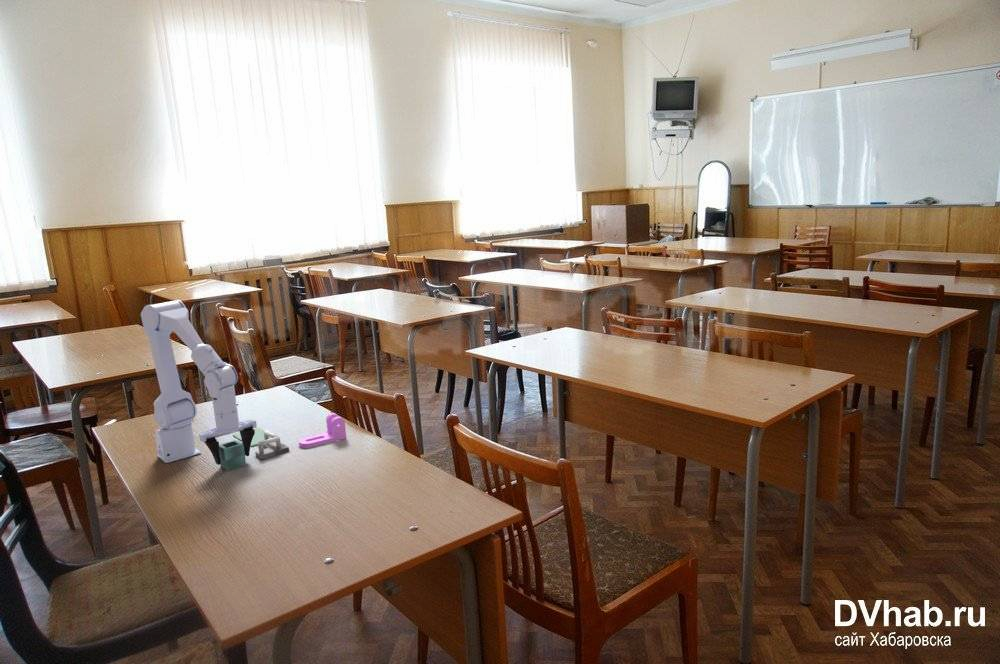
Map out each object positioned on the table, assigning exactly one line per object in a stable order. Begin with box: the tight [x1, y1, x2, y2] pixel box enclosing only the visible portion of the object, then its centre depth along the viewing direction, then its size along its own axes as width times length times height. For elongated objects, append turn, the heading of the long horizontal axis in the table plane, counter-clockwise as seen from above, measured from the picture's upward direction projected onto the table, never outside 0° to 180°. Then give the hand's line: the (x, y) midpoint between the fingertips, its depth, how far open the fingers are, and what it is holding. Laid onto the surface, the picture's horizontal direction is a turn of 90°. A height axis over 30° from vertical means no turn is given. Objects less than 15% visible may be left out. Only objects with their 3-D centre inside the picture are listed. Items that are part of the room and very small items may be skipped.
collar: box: [219, 439, 247, 472], centre depth 180 cm, size 5×5×6 cm
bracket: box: [298, 412, 347, 449], centre depth 195 cm, size 13×6×7 cm, turn 122°
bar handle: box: [255, 429, 290, 460], centre depth 190 cm, size 8×12×4 cm
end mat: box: [232, 427, 271, 448], centre depth 201 cm, size 8×14×1 cm, turn 42°
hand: (232, 459), depth 180 cm, fingers open, 7 cm apart
